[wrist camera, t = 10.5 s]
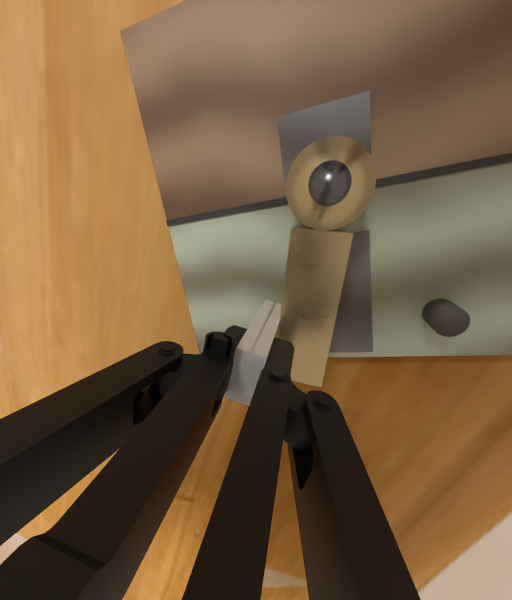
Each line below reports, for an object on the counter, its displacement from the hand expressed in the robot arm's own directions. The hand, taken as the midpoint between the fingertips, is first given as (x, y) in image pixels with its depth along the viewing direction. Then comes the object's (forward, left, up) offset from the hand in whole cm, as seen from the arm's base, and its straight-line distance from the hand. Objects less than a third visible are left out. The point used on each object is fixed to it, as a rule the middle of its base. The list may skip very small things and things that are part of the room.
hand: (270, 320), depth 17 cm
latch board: (-7, +4, -2) cm, 9 cm away
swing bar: (-3, +3, -1) cm, 5 cm away
